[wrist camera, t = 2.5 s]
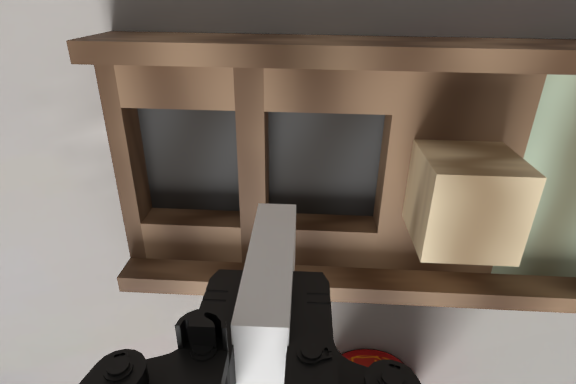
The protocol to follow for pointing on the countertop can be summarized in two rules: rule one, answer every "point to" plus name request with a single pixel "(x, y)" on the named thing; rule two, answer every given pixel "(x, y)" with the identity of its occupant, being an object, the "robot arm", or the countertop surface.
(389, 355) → the canned food
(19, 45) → the countertop surface
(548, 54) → the track
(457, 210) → the maple block
